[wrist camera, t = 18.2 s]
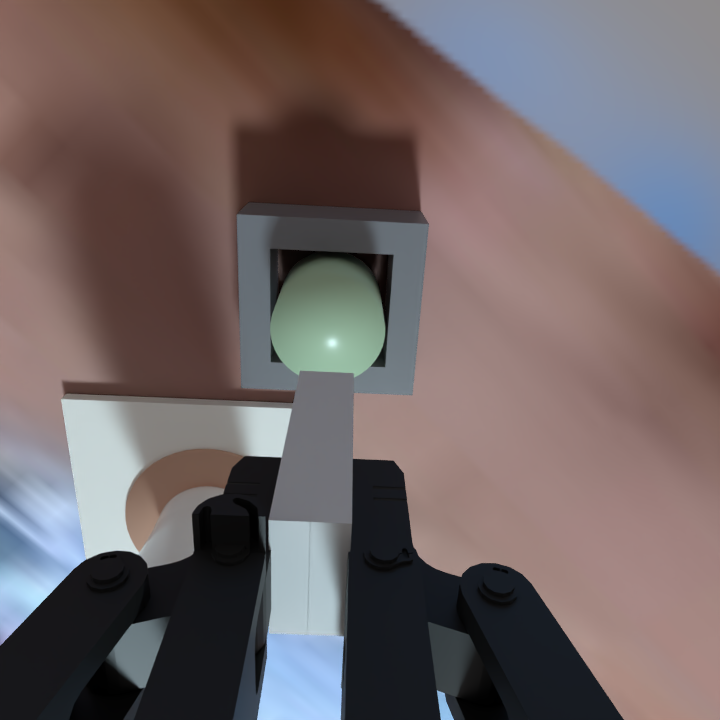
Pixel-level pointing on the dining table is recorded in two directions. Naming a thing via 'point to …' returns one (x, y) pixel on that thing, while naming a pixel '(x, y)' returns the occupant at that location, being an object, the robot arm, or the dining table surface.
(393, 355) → the button housing
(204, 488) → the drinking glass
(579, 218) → the dining table surface
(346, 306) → the button
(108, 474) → the white flat square plate
